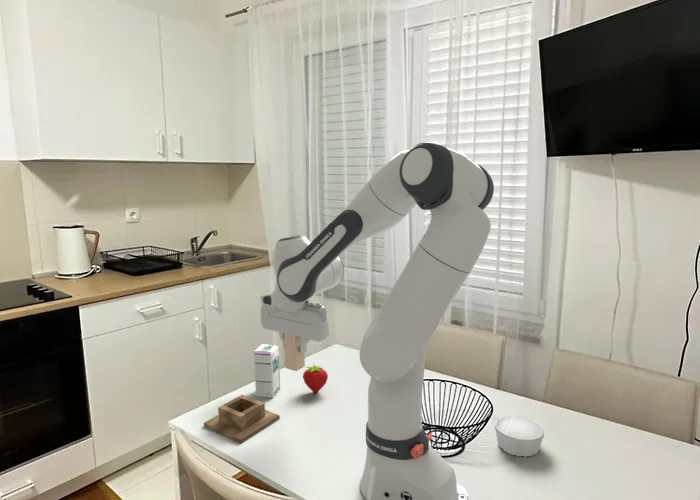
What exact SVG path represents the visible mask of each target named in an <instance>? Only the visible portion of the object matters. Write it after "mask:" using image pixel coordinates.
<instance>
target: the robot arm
mask: <svg viewBox="0 0 700 500" xmlns="http://www.w3.org/2000/svg"><path fill="white" fill-rule="evenodd" d="M494 192H495V185H494V181H493V178H492V176H491V174H490V173H489V172H488V171H487V169H485V168H484V167H483V166H481V165H480V164H477V163H476V162H475V161H472V160H471V159H470V158H468V157H467V155H465V154H463V153H461V152H459V151H457V150H454V149H451V148H448V147H447V146H445V145H443V144H441V143H437V142H432V141H425V142H419V143H417V144H416V143H415V145H413V146H412V147H410V148H409V149H408V150H403V151H400V152H398V153H397V154H396V155H394V156H393V157H392V158H391V159H389V160H388V161H387V162H386V163H384V164H383V165H382V166H381V167H380V168H379V169H378V170H377V171H376V172H375V174H373V175H372V176H371V178H370V179H369V180H368V181H367V182H366V183H365V184H364V186H363V187H362V188H361V189H360V191H359V192H358V193H356V195H355V196H354V197H353V199H352V200H351V201H350V202H349V203H348V204H347V205H346V207H344V208H343V210H342V211H341V212H340V213H339V214H338V215H337V216H336V217H335V218H334V219H333V220H332V221H331V222H330V223H329V224H328V225H327V226H325V228H324V229H323V230H322V231H320V233H319V234H317V236H316V237H315V238H314V239H313V240H312V241H310V240H309V239H308V238H307V237H306V236H305V235H301V234H300V235H293V236H287V237H284V238H280V239H278V240H277V241H276V243H275V247H274V252H273V253H274V255H273V272H274V275H275V280H276V281H275V285H274V291H271V292H268V293H265V294H264V295H261V296H260V303H261V304H262V305H261V306H260V323H261V326H262V327H263V329H265V330H269V331H273V332H276V333H279V334H278V335H279V338H280V340H281V342H282V346H283V349H284V350H285V333H284V332H287V333H291V334H295V336H297V337H300V340H301V341H302V343H301V345H299V346H298V352H299V353H304V354H305V353H307V351H308V350H307V345H308V344H309V342H310V341H315V342H322V341H324V340H326V339H327V338H328V337H329V335H330V332H329V331H330V329H329V323H328V322H329V321H328V316H327V309H326V308H325V307H324V306H323V305H322V304H321V303H319V302H317V303H315V302H312V301H311V298H312V297H314V296H316V295H319V294H320V293H323V292H326V291H328V290H331V289H333V288H334V287H336V286H337V285H339V284H341V282H342V281H343V279H344V275H345V267H344V263H343V261H342V259H341V257H340V256H341V255H342V254H343V253H344V252H345V251H347V250H348V249H349V248H351V247H353V246H355V245H358V244H359V243H362V242H365V241H367V240H369V239H371V238H374V237H377V236H380V235H382V234H385V233H386V232H388V231H389V230H391V229H392V228H394V227H395V226H397V225H398V224H399V223H400V222H401V221H402V220H403V219H404V218H405V217H407V215H408V214H410V212H411V211H412V210H413V209H414V207H416V206H418V207H419V208H420V210H423V211H428V210H429V212H430V221H429V225H428V227H427V228H426V230H425V232H424V234H423V235H422V237H421V238H420V241H419V242H418V243H417V246H416V248H414V251H412V254H411V256H410V258H409V259H408V261H407V263H406V264H405V266H404V268H403V270H402V272H401V273H400V275H399V277H398V278H397V280H396V281H395V283H394V284H393V286H392V288H391V289H390V291H389V293H388V294H387V296H386V298H385V299H384V300H383V302H382V304H381V305H380V307H379V309H378V311H377V312H376V314H375V316H374V317H373V319H372V320H371V322H370V324H369V325H368V327H367V328H366V331H365V332H364V334H363V337H362V339H361V343H360V349H359V362H360V364H361V366H362V368H363V370H364V371H365V373H367V375H369V376H370V377H369V378H370V380H369V384H368V389H367V391H368V393H367V395H368V396H367V421H366V425H365V443H366V446H367V447H366V457H365V464H364V469H363V471H362V472H363V473H362V477H361V479H360V482H359V489H360V493H361V494H362V496H363V497H364V499H365V500H469V498H468V497H469V496H468V492H467V489H466V488H465V487H463V486H462V485H460V484H458V483H457V476H456V473H455V470H454V468H453V467H452V465H451V464H450V463H448V462H447V460H446V459H444V458H443V457H442V456H441V455H440V454H439V453H438V452H437V451H436V450H435V449H434V447H432V446H431V445H430V441H431V440H432V438H433V431H430V432H429V434H428V435H427V434H426V432H425V429H424V426H423V424H422V413H423V412H422V411H423V409H422V408H423V407H422V406H423V386H424V377H425V368H426V367H425V364H426V355H427V353H426V352H427V345H428V343H429V341H430V340H431V338H432V336H433V335H434V333H435V332H436V329H437V328H438V327H439V324H440V322H441V321H442V319H443V317H444V315H445V313H446V312H447V310H448V308H449V307H450V305H451V303H452V302H453V300H454V299H455V297H456V296H457V294H458V293H459V291H460V290H461V288H462V287H463V285H464V282H465V281H466V280H467V279H468V277H469V275H470V273H471V271H472V270H473V269H474V267H475V265H476V264H477V262H478V260H479V258H480V256H481V254H482V252H483V250H484V247H485V245H486V243H487V239H488V238H489V234H490V232H491V229H492V228H491V227H492V226H491V223H492V222H491V221H490V218H489V216H488V214H486V212H485V211H484V210H485V208H487V207H488V206H489V204H490V203H491V201H492V198H493V195H494Z"/></svg>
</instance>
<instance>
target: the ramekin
mask: <svg viewBox="0 0 700 500" xmlns="http://www.w3.org/2000/svg"><path fill="white" fill-rule="evenodd" d="M494 430H495V433H496V434H495V436H496V441H497V444H498V447H500V448H502V449H503V450H502V449H501V450H502V451H504V452H505V451H506V452H505V453H507V452H508V453H510V454H509V455H511V454H512V455H511V456H514V455H516V456H515V457H518V456H524V457H523V458H528V457H527V456H530V457H533V456H534V454H535V455H536V454H537V453H538V452H539V450H540V448H541V445H542V441H543V439H544V437H545V430H544V428H543V427H542V425H541V424H539V423H538V422H536V421H534V420H532V419H531V418H528V417H525V416H519V415H505V416H501V417H499V418H497V419H496V421H494ZM508 453H507V454H508ZM532 455H533V456H532Z"/></svg>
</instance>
